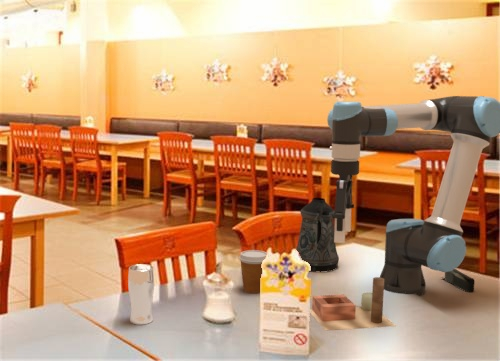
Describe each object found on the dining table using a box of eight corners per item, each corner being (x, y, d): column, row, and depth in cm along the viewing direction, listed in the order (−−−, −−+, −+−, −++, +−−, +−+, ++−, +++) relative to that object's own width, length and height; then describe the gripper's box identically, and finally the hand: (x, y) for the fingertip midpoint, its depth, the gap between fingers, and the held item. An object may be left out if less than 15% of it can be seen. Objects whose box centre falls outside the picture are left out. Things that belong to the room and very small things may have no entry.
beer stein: (316, 257, 238) (318, 193, 235) (353, 269, 223) (357, 201, 220) (283, 264, 228) (285, 197, 225) (321, 277, 213) (323, 205, 209)
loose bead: (372, 305, 183) (373, 292, 182) (379, 310, 179) (379, 297, 178) (358, 306, 182) (359, 293, 181) (364, 311, 178) (365, 298, 177)
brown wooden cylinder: (379, 319, 172) (381, 277, 170) (383, 323, 169) (386, 280, 167) (369, 319, 171) (371, 277, 169) (373, 323, 168) (375, 280, 167)
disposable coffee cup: (265, 296, 192) (266, 258, 190) (235, 293, 194) (236, 256, 192) (270, 287, 201) (271, 251, 199) (241, 284, 203) (242, 248, 201)
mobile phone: (476, 278, 200) (447, 264, 214) (469, 279, 199) (440, 265, 213) (475, 293, 201) (446, 278, 215) (467, 293, 200) (439, 279, 214)
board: (372, 308, 183) (373, 292, 182) (396, 329, 167) (397, 311, 166) (307, 312, 178) (307, 295, 178) (325, 333, 163) (326, 315, 162)
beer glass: (158, 318, 172) (158, 265, 169) (146, 327, 165) (146, 272, 163) (136, 314, 174) (136, 262, 172) (123, 323, 167) (123, 269, 165)
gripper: (337, 154, 179) (335, 226, 183) (324, 164, 156) (321, 246, 159) (363, 155, 177) (360, 227, 181) (354, 165, 154) (351, 248, 157)
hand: (342, 236), depth 170 cm, fingers open, 13 cm apart
